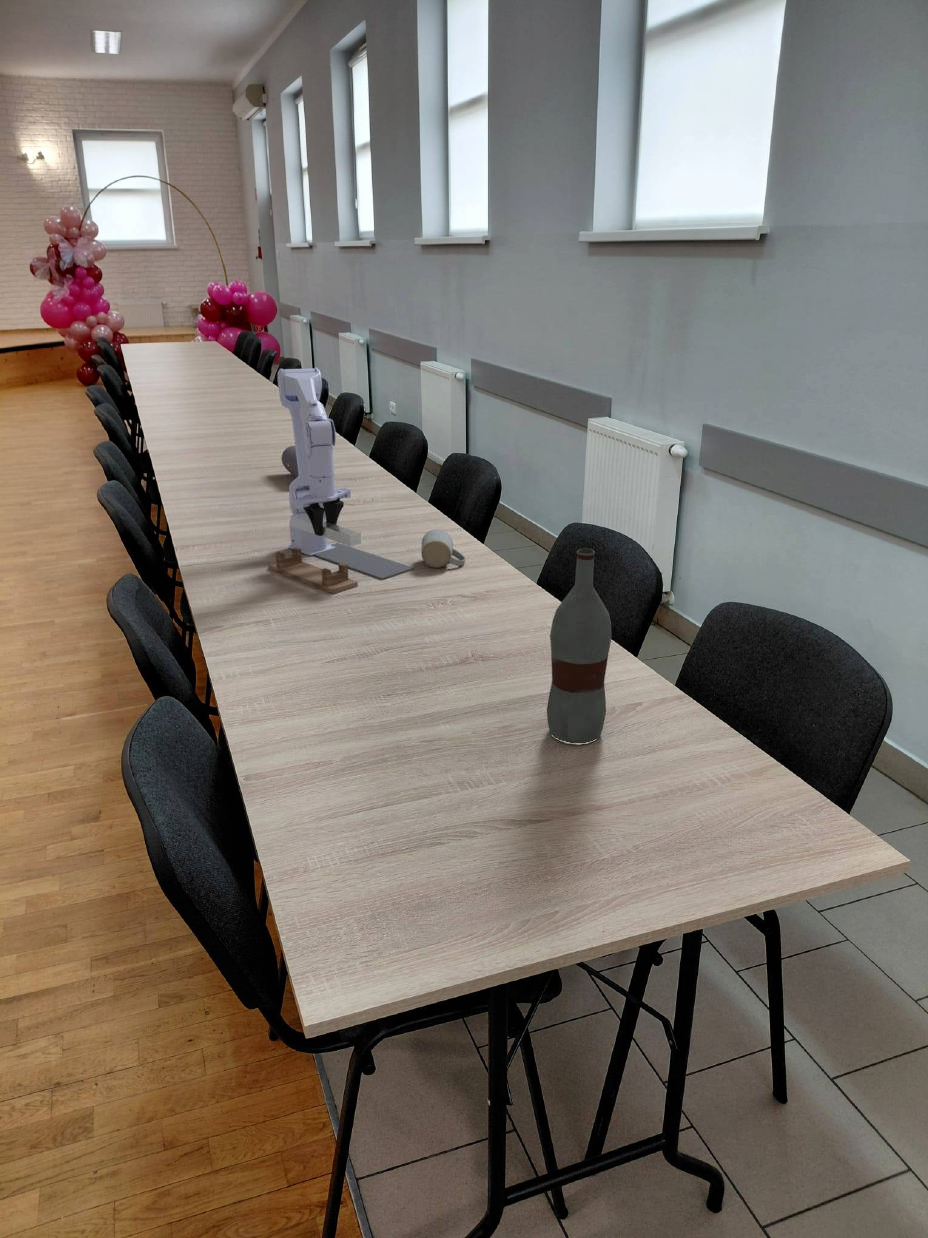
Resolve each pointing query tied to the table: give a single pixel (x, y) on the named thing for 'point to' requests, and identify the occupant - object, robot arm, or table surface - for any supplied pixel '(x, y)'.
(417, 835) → the table surface
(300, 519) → the steel rail
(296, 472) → the bluetooth speaker
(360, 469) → the table surface
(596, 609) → the bottle
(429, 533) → the ceramic mug
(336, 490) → the robot arm
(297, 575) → the walnut standards
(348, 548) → the rubber mat
